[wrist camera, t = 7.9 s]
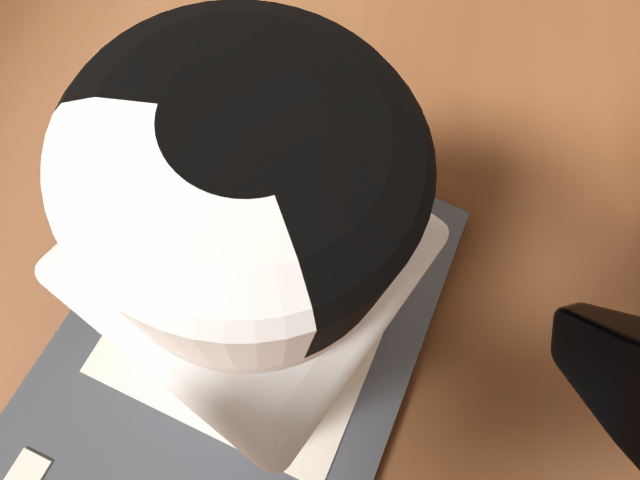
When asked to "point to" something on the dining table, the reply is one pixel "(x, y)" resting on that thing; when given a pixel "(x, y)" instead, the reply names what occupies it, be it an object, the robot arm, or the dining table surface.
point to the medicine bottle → (240, 210)
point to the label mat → (183, 424)
